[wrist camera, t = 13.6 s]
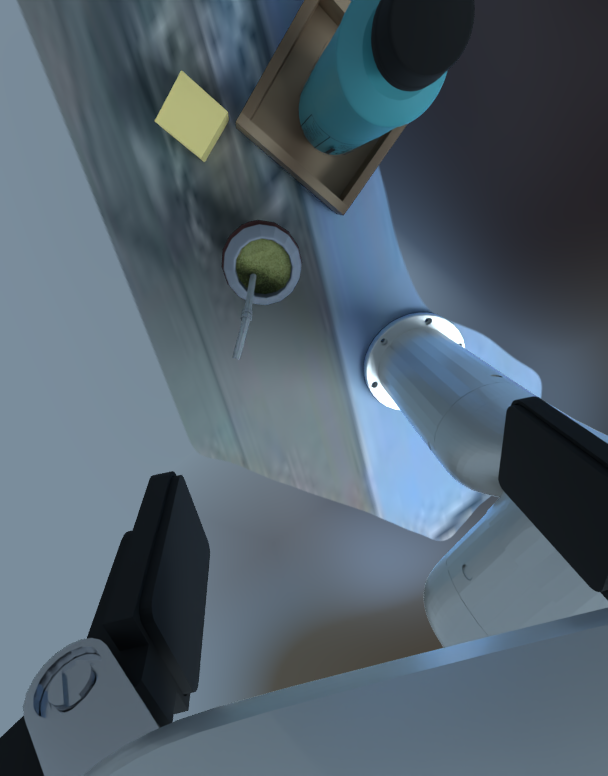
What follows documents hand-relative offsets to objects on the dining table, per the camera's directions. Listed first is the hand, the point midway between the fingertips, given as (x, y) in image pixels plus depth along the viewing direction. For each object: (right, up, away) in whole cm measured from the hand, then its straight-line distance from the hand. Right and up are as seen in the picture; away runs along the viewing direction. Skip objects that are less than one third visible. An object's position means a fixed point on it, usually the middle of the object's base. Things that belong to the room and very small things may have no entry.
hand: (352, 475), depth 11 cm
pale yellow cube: (-11, +25, +22) cm, 35 cm away
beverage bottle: (+1, +27, +23) cm, 35 cm away
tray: (+1, +27, +23) cm, 35 cm away
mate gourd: (-6, +16, +28) cm, 32 cm away
